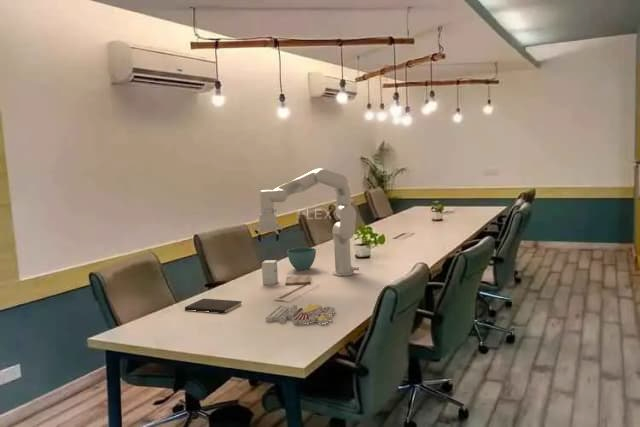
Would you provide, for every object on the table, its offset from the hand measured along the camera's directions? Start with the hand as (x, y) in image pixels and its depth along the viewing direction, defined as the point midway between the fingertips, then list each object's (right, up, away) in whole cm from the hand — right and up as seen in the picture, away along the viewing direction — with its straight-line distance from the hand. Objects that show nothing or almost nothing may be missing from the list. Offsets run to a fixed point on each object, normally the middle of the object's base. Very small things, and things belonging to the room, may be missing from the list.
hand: (268, 241), depth 322 cm
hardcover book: (-23, -32, -43) cm, 58 cm away
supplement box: (+1, -24, +3) cm, 25 cm away
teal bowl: (+18, -20, +34) cm, 44 cm away
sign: (+22, -32, -66) cm, 76 cm away
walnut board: (+17, -23, +3) cm, 29 cm away
